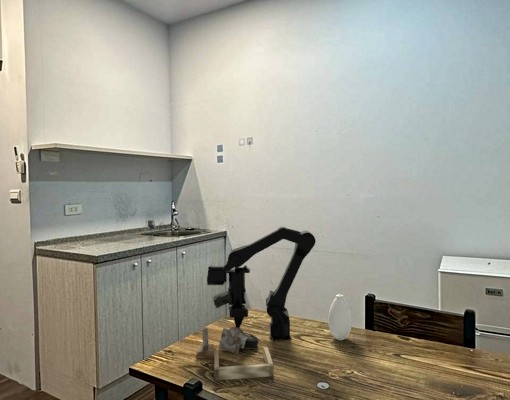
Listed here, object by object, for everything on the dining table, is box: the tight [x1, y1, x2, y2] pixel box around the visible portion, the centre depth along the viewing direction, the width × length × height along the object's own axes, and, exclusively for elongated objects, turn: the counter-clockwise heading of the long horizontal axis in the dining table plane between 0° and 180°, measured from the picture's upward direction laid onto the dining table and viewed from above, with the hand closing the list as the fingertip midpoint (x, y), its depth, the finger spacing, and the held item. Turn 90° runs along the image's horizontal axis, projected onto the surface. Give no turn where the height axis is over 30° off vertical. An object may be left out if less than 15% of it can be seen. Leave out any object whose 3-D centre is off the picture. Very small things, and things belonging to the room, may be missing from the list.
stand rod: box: [196, 327, 215, 359], centre depth 115 cm, size 5×5×8 cm
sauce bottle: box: [327, 287, 353, 341], centre depth 125 cm, size 8×8×18 cm
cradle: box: [213, 346, 275, 381], centre depth 106 cm, size 16×12×3 cm
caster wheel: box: [218, 326, 259, 355], centre depth 120 cm, size 7×11×10 cm
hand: (237, 328), depth 128 cm, fingers closed
